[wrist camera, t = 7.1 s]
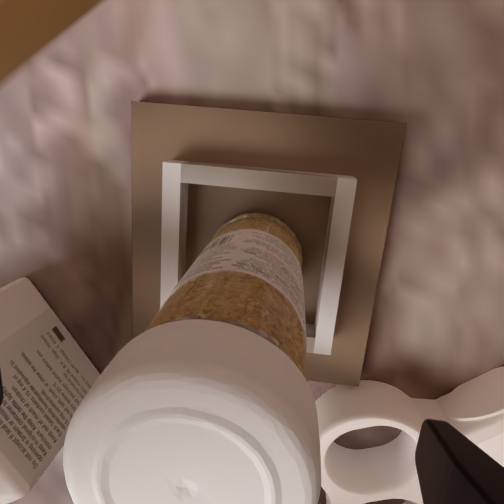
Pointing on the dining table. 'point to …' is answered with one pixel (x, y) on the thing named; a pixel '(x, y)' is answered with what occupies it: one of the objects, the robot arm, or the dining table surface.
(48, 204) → the dining table surface
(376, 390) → the white compartment tray
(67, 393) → the container
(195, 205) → the brown flat square frame
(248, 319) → the sprinkles bottle
